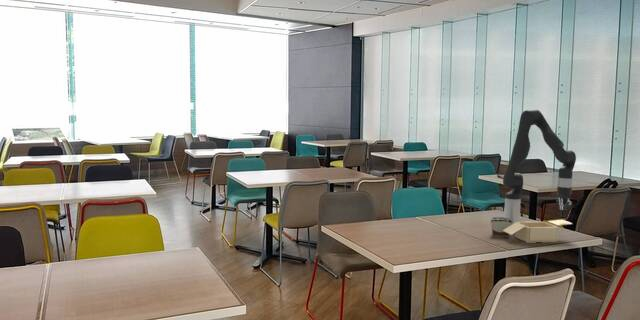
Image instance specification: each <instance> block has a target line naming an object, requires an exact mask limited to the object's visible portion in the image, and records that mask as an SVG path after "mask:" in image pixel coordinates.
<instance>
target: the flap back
mask: <svg viewBox="0 0 640 320" xmlns="http://www.w3.org/2000/svg"><path fill="white" fill-rule="evenodd" d="M547 223H549V224H551V225H554V226H556V227H558V226H559V227H560V226H565V225H566V226H567V225H573V224H574V223H572V222H570V221H567V220H564V219H556V220H548V221H547Z"/></svg>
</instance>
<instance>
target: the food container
mask: <svg viewBox="0 0 640 320" xmlns="http://www.w3.org/2000/svg"><path fill="white" fill-rule="evenodd" d="M490 223H491V234H492V235H491V236H492V237H510V234H508V233H506V232H504V231H503V230H504V229H506V228H507V227H509V226H511V223H513V222H512V219H509V218H504V216H503V217H502V216H496V217H495V216H493V217H491V218H490Z"/></svg>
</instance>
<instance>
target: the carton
mask: <svg viewBox="0 0 640 320" xmlns="http://www.w3.org/2000/svg"><path fill="white" fill-rule="evenodd" d="M516 223H519V224H521V225H523V226H525V227H524V228H522V229H521V230H519V231H517V232H516V233H515V235H514V236H515V238H516V239H518V240H519V239H520V240H521V241H522V242H525V243H527V244H528V243H531V244H533V243H534V244H536V242H542V243H557V242H558V228H559V227H558V226H557V225H555V224H552V223H549V222H545V221H520V222H516Z"/></svg>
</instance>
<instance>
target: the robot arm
mask: <svg viewBox="0 0 640 320" xmlns="http://www.w3.org/2000/svg"><path fill="white" fill-rule="evenodd" d="M518 122H519V124H518V129H517V133H516V137H515V141H514V143H513V147H512V152H511V156H510V159H509V162H508V165H507V167H506V170H505V172H504V174H503V178H502V183H503V186H504V187H505V188H506V189H507V188H508V189H510V188H511V190H510V191H508V192H506V193H505V195H504V209H503V210H504V211H503V217H504V218H509V219H512V222H513V223H511V225H512V224H514V223H515V222H521V221H520V217H521V201H522V200H521V199H522V195H523V187H524V176H523V174H521V173H520V172H517V170H518V168H519V167H520V166H521V165H522V164H523V163H524V161H526V159H527V158H528V156H529V153H530V149H531V142H530V137H529V134H530V130H531V127H532V126H536V127H537V128H538V129H539V130H540V132H541V134H542V138H543V141H544V142H545V144H546V145H547V147H549V148H550V150H552V153H553V155H554V157H555V159H556V160H557V161H558V162H559V163H561V164H562V166H561V167H559V169H558V176H557V177H558V178H557V184H556V185H557V186H556V187H557V188H556V194H557V195H558V197H556V198H555V201H556V202H555V203H556V205H557V207H558V209H559V210H560V217H563V218H565V217H566V215H567V214H566V213H567V210H568V211H569V210H570V208H571V207H572V205H573V201H571V197H570V196H571V195H572V194H573V171H574V168H575V165H576V162H577V161H576V160H577V155H576V153H575V151H574V150H572V149H571V150H570V149H569V150H568V149H567V150H566V149H565V148H564V146H565V145H564V142H563V141H562V140H561V139H560V138H559V136H557V134H556V133H555V132H554V130H553V129H552V128H551V126H550V125H549V123H548V122H547V119H546V118H545V116H544V115H543V114H542V112H541V111H540V110H539V109H535V108H533V109H526V110H523V111H522V112H521V114H520V117H519V121H518Z"/></svg>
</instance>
